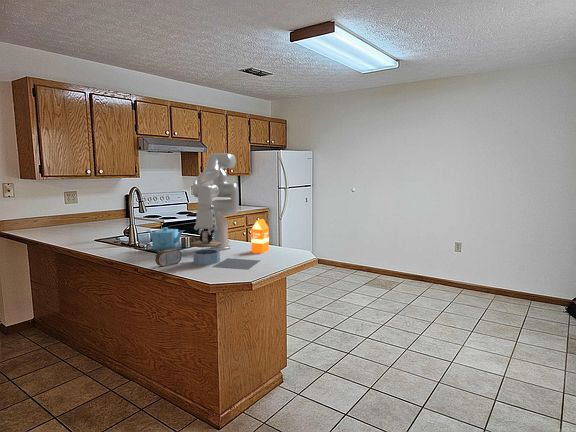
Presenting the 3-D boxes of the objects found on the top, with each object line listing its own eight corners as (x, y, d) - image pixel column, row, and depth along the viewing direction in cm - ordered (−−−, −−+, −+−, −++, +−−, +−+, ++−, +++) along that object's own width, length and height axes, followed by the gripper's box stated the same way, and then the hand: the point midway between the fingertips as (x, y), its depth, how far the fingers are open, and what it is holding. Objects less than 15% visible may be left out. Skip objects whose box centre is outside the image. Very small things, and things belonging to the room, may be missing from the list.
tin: (179, 262, 216) (178, 247, 215) (182, 262, 214) (182, 247, 213) (155, 267, 204) (154, 251, 203) (158, 268, 202) (157, 252, 201)
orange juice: (251, 252, 240) (250, 220, 238) (258, 249, 248) (258, 218, 246) (262, 253, 237) (262, 220, 234) (269, 250, 245) (269, 219, 242)
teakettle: (172, 246, 258) (171, 224, 256) (187, 250, 245) (186, 227, 243) (145, 250, 245) (143, 227, 243) (158, 255, 232) (157, 230, 230)
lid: (199, 241, 223) (199, 229, 222) (226, 242, 218) (226, 230, 218) (184, 246, 206) (183, 233, 206) (213, 248, 202) (213, 235, 201)
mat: (227, 259, 221) (227, 258, 221) (260, 261, 216) (260, 260, 216) (211, 268, 202) (211, 266, 202) (247, 270, 197) (247, 269, 197)
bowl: (201, 258, 222) (201, 248, 222) (223, 260, 219) (223, 249, 218) (188, 264, 209) (188, 253, 208) (212, 266, 205) (212, 255, 205)
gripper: (222, 207, 212) (223, 240, 214) (194, 207, 216) (195, 239, 218) (216, 209, 204) (217, 243, 207) (187, 208, 209) (188, 241, 211)
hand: (206, 241), depth 212 cm, fingers closed on lid, 4 cm apart
